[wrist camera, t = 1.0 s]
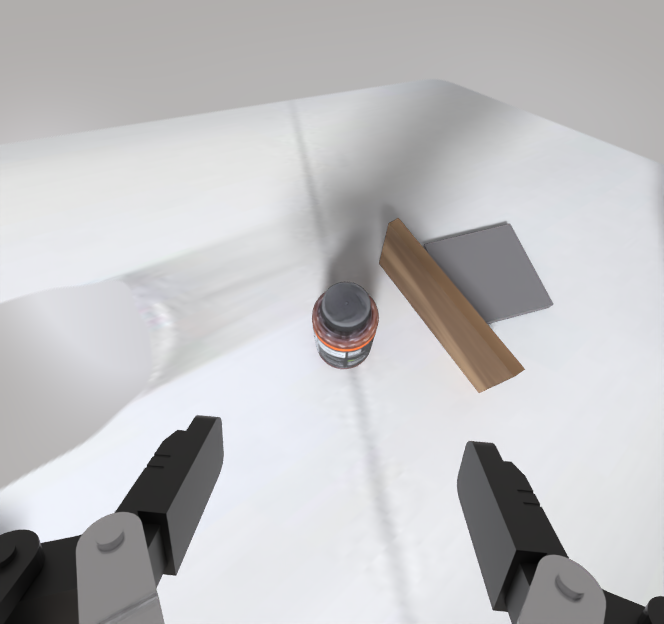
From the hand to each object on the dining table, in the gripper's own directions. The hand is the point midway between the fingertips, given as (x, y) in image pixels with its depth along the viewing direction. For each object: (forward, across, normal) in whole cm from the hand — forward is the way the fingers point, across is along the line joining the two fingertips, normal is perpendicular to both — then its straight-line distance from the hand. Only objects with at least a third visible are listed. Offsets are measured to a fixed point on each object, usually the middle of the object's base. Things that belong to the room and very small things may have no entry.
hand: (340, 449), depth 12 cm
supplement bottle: (+26, 0, +10) cm, 28 cm away
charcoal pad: (+33, -16, +3) cm, 37 cm away
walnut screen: (+29, -10, +8) cm, 31 cm away
